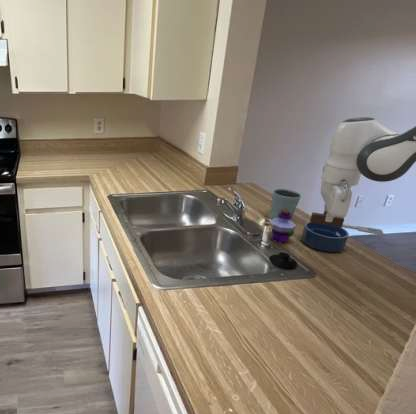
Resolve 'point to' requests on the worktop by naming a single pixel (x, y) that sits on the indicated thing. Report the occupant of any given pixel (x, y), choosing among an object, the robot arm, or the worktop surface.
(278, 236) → the potion bottle
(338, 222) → the fork
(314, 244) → the bowl
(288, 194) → the grey-green tapered cup
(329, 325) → the worktop surface
